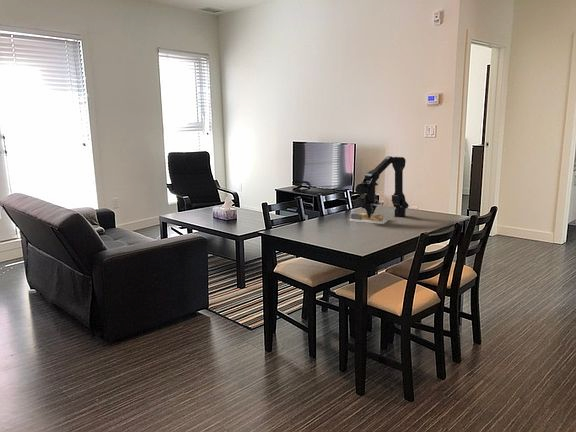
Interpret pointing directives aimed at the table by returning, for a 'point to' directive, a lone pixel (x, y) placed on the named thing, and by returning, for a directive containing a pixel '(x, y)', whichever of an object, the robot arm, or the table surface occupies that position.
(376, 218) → the oak rail
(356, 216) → the bracket plate
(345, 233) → the table surface
